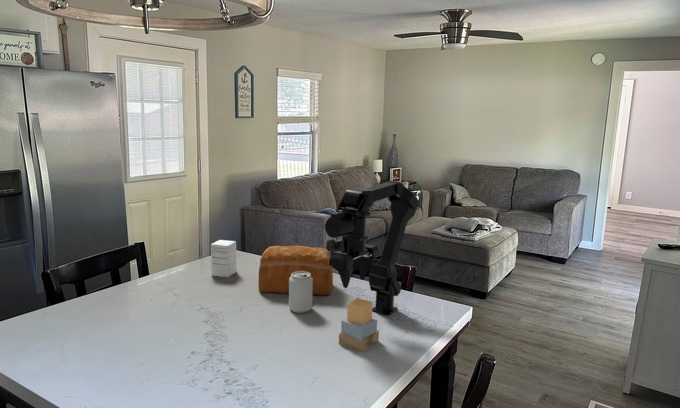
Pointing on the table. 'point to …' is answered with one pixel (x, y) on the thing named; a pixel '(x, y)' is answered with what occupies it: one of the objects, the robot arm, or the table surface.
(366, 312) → the ochre cube
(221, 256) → the supplement box
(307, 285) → the can
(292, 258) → the bread
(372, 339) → the walnut base block
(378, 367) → the table surface
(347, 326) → the slate block
